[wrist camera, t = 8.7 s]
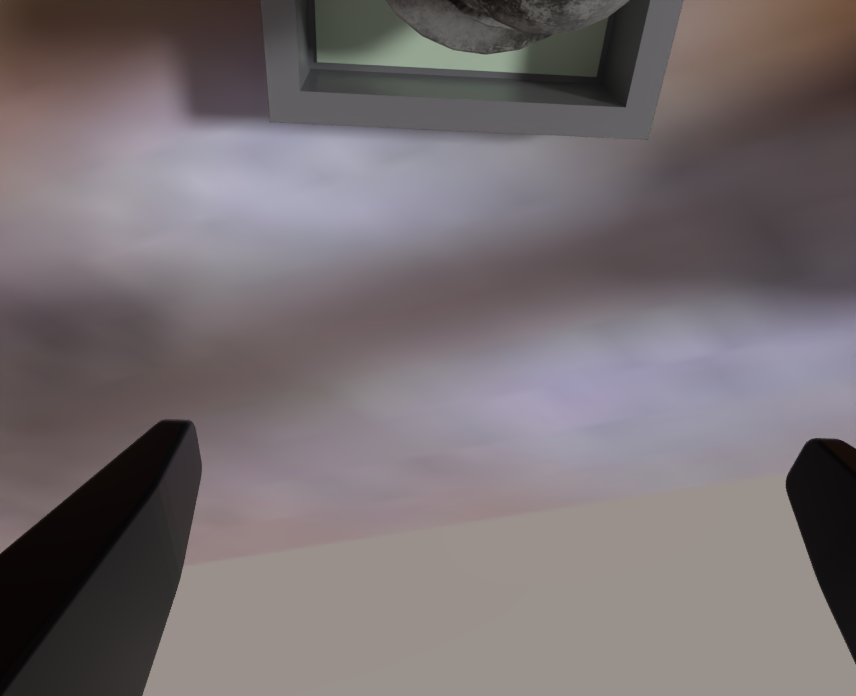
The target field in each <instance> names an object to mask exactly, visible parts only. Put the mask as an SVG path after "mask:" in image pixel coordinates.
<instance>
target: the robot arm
mask: <svg viewBox="0 0 856 696" xmlns="http://www.w3.org/2000/svg"><path fill="white" fill-rule="evenodd" d="M201 472H202V462H201V456H200V450H199V445H198V439H197V434H196V428H195V426H194V424H193V422H192V421H190V420H179V419H164V420H161V421H159V422H158V423H157V424H155V425H154V426H153V427H152V428H151V429H149V430H148V431H147V432H146V433H145V434H143V435H142V436H141V437H140V438H139V439H137V440H136V441H135V442H134V443H133V444H131V445H130V446H129V447H128V448H127V449H125V450H124V451H123V452H122V453H121V454H119V455H118V456H117V457H116V458H115V459H113V460H112V461H111V462H110V463H109V464H107V465H106V466H105V467H104V468H103V469H101V470H100V471H99V472H98V473H97V474H95V475H94V476H93V477H92V478H91V479H89V480H88V481H87V482H86V483H85V484H83V485H82V486H81V487H80V488H79V489H77V490H76V491H75V492H74V493H73V494H71V495H70V496H69V497H68V498H67V499H65V500H64V501H63V502H62V503H61V504H59V505H58V506H57V507H56V508H55V509H53V510H52V511H51V512H50V513H49V514H47V515H46V516H45V517H44V518H43V519H41V520H40V521H39V522H38V523H37V524H35V525H34V526H33V527H32V528H31V529H29V530H28V531H27V532H26V533H25V534H23V535H22V536H21V537H20V538H19V539H17V540H16V541H15V542H14V543H13V544H11V545H10V546H9V547H8V548H7V549H5V550H4V551H3V552H2V553H1V554H0V696H142V695H143V692H144V688H145V686H146V683H147V679H148V676H149V673H150V670H151V667H152V664H153V661H154V658H155V655H156V652H157V649H158V646H159V643H160V640H161V637H162V634H163V631H164V628H165V625H166V622H167V618H168V616H169V613H170V610H171V607H172V603H173V600H174V597H175V594H176V591H177V588H178V584H179V581H180V577H181V573H182V568H183V564H184V559H185V554H186V549H187V544H188V539H189V534H190V530H191V525H192V520H193V515H194V510H195V505H196V500H197V495H198V490H199V485H200V480H201ZM786 491H787V494H788V497H789V500H790V503H791V506H792V509H793V512H794V515H795V517H796V520H797V523H798V526H799V529H800V532H801V535H802V538H803V541H804V543H805V546H806V549H807V552H808V555H809V558H810V561H811V563H812V566H813V569H814V572H815V575H816V577H817V580H818V582H819V585H820V587H821V590H822V592H823V594H824V597H825V599H826V601H827V603H828V606H829V608H830V610H831V612H832V614H833V616H834V619H835V621H836V623H837V625H838V627H839V629H840V631H841V634H842V636H843V637H844V640H845V642H846V644H847V647H848V649H849V651H850V653H851V655H852V657H853V659H854V662H855V664H856V449H855V448H854V447H852V446H850V445H849V444H847V443H846V442H844V441H842V440H839V439H827V438H814V439H811V440H809V441H808V442H806V444H805V445H804V447H803V448H802V450H801V452H800V454H799V455H798V457H797V459H796V461H795V462H794V464H793V466H792V468H791V469H790V471H789V473H788V475H787V478H786Z"/></svg>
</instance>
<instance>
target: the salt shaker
mask: <svg viewBox="0 0 856 696" xmlns="http://www.w3.org/2000/svg"><path fill="white" fill-rule="evenodd" d="M385 1H386V2H387V3H388V5H389V6H390V8H391V9H392V10H393V12H394V13H395V14H396V15H397V16H398V17H400V18H401V19H402V20H403V21H404V22H406V23H407V24H408V25H409V26H410V27H412V28H413V29H414V30H415V31H416V32H418V33H419V34H420V35H421V36H423V37H425V38H427V39H429V40H432V41H434V42H436V43H438V44H440V45H443V46H445V47H447V48H449V49H452V50H455V51H463V52H470V53H477V54H484V55H488V54H494V53H501V52H508V51H515V50H520V49H522V48H525V47H527V46H529V45H531V44H534V43H536V42H538V41H540V40H543V39H545V38H547V37H550V36H552V35H553V34H559V33H565V32H572V31H577V30H581V29H583V28H585V27H587V26H590V25H592V24H594V23H596V22H599V21H601V20H603V19H605V18H607V17H609V16H610V15H611V14H613V13H614V12H615V11H617V10H618V9H619V8H621V7H622V6H623V5H625V4H626V3H627V2H628V1H630V0H385Z"/></svg>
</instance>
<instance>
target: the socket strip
mask: <svg viewBox="0 0 856 696" xmlns="http://www.w3.org/2000/svg"><path fill="white" fill-rule="evenodd" d="M260 3H261V15H262V27H263V39H264V51H265V63H266V75H267V88H268V100H269V112H270V122H281V123H302V124H323V125H345V126H366V127H387V128H409V129H430V130H451V131H473V132H494V133H516V134H537V135H558V136H580V137H601V138H622V139H644V140H648V137H649V133H650V129H651V125H652V121H653V118H654V114H655V110H656V106H657V102H658V98H659V94H660V90H661V86H662V82H663V79H664V75H665V71H666V67H667V63H668V59H669V55H670V51H671V47H672V43H673V39H674V36H675V32H676V28H677V24H678V20H679V16H680V12H681V8H682V4H683V0H630V1H628V2H627V3H626V4H625V5H623V6H622V7H621V8H619V9H618V10H617V11H615V12H614V13H613V14H611V15H610V16H609V17H607V18H605V19H603V20H601V21H599V22H596V23H594V24H592V25H590V26H587V27H585V28H583V29H581V30H577V31H572V32H565V33H559V34H553V35H552V36H550V37H547V38H545V39H543V40H540V41H538V42H536V43H534V44H531V45H529V46H527V47H525V48H522V49H520V50H515V51H508V52H501V53H494V54H488V55H484V54H477V53H470V52H463V51H455V50H452V49H449V48H447V47H445V46H443V45H440V44H438V43H436V42H434V41H432V40H429V39H427V38H425V37H423V36H421V35H420V34H419V33H418V32H416V31H415V30H414V29H413V28H412V27H410V26H409V25H408V24H407V23H406V22H404V21H403V20H402V19H401V18H400V17H398V16H397V15H396V14H395V13H394V12H393V10H392V9H391V8H390V6H389V5H388V3H387V2H386V1H385V0H260Z"/></svg>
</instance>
